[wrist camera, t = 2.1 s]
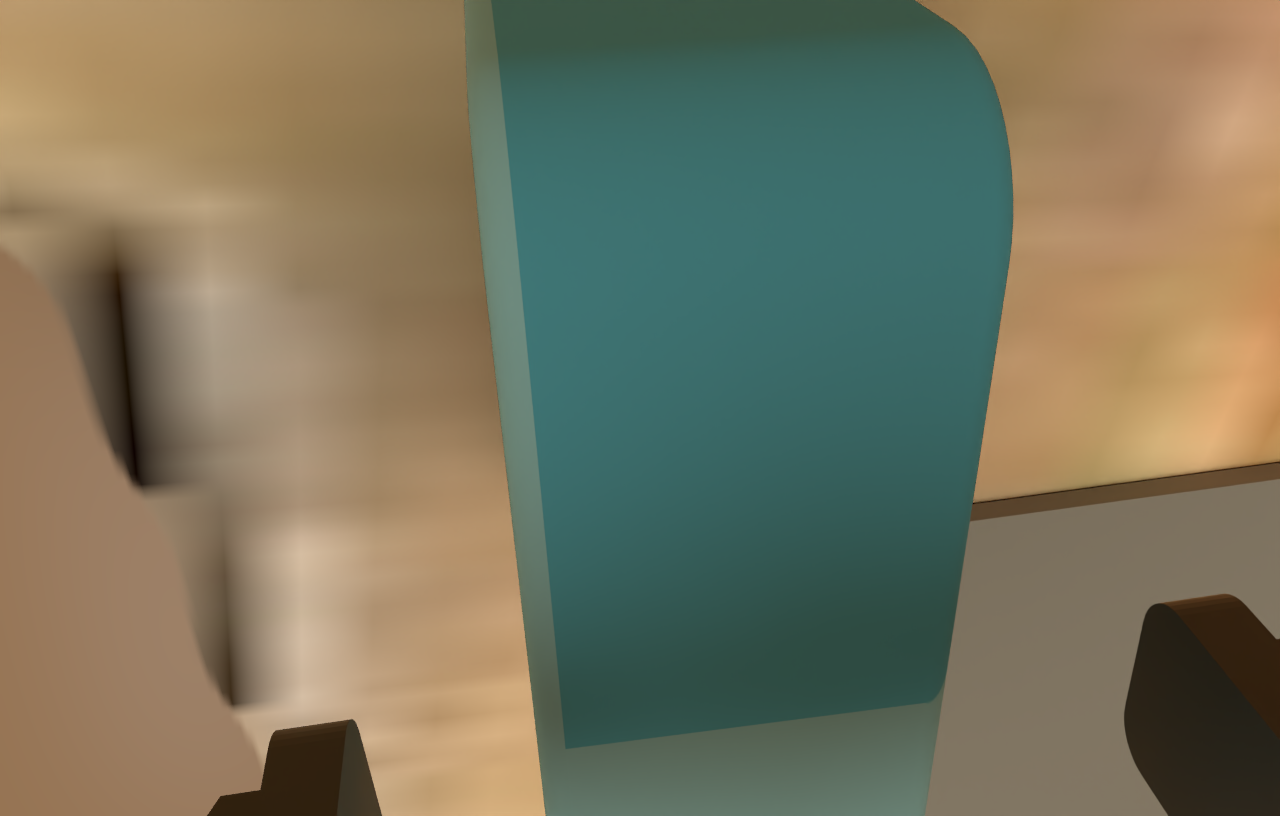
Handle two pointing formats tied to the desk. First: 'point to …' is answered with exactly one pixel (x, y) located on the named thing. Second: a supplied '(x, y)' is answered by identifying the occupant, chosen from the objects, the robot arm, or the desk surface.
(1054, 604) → the mat
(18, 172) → the desk surface
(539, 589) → the data package
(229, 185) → the desk surface
